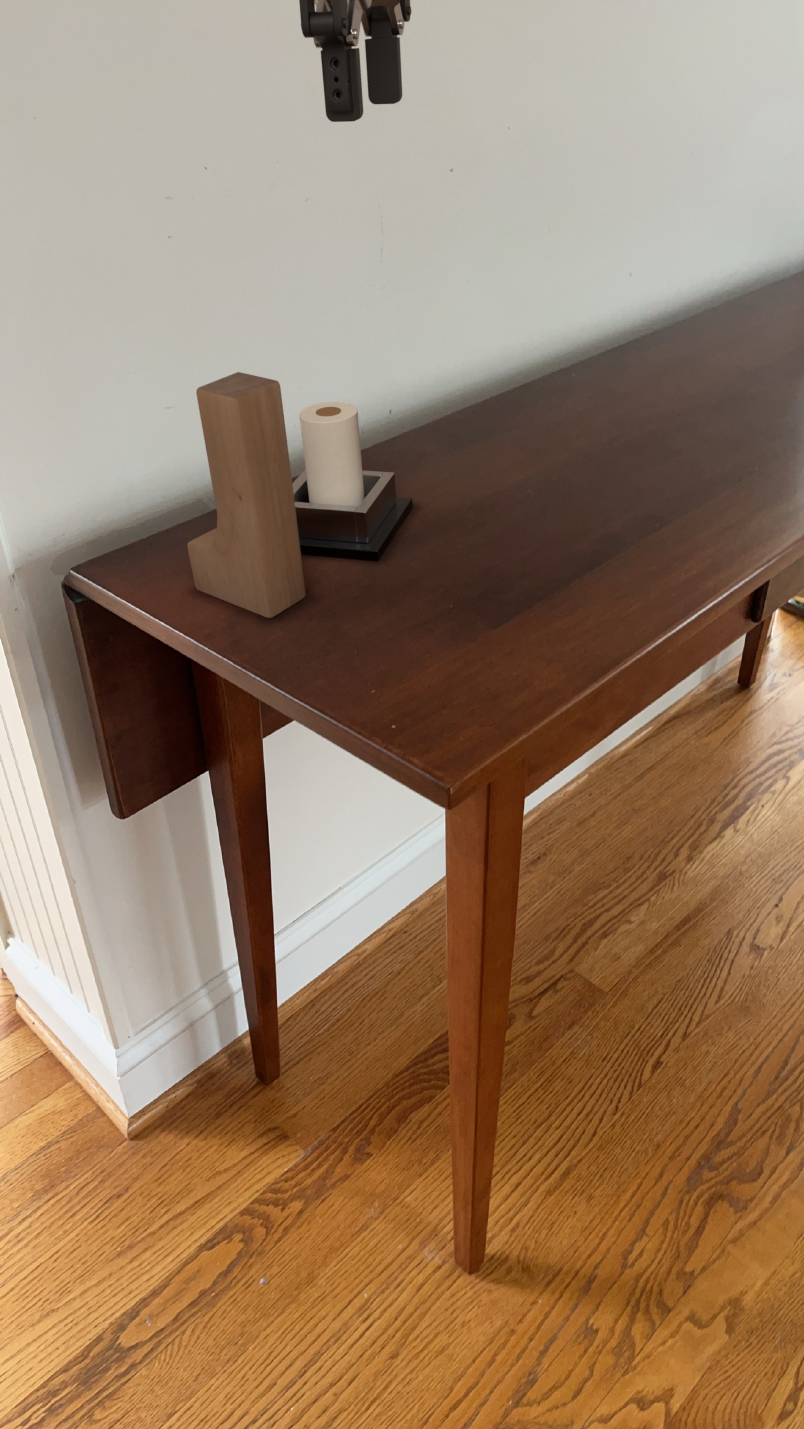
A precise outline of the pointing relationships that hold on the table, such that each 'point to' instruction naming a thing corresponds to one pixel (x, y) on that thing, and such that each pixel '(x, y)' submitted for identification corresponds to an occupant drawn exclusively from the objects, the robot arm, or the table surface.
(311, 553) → the stand
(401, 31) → the robot arm
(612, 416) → the table surface
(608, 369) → the table surface
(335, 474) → the paper roll
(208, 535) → the wooden block
